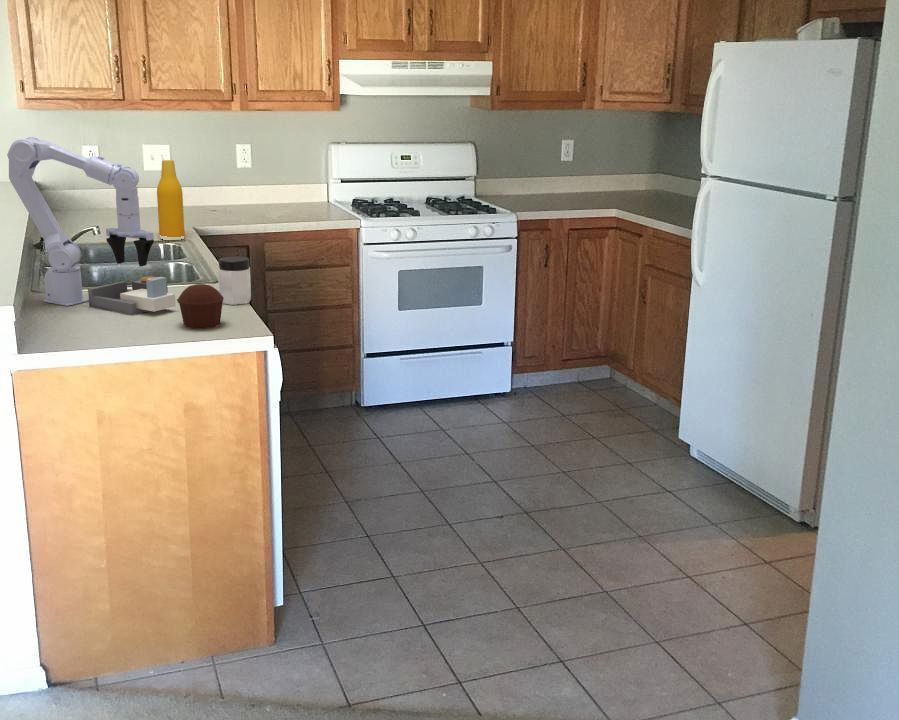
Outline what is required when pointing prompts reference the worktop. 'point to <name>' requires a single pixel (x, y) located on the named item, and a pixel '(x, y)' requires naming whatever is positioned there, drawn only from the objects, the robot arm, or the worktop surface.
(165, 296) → the white blue stepped block
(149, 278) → the orange round piece
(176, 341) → the worktop surface
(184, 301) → the muffin
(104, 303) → the housing
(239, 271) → the jar
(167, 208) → the beer bottle
